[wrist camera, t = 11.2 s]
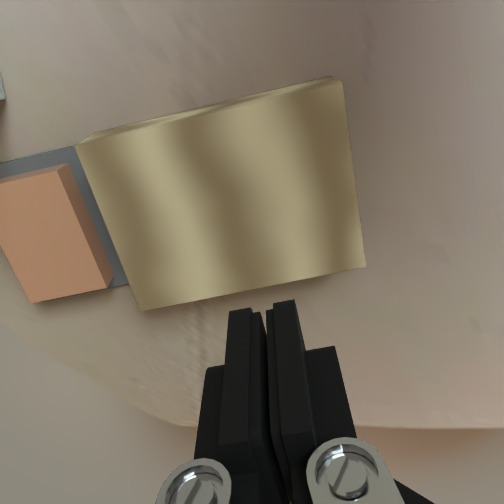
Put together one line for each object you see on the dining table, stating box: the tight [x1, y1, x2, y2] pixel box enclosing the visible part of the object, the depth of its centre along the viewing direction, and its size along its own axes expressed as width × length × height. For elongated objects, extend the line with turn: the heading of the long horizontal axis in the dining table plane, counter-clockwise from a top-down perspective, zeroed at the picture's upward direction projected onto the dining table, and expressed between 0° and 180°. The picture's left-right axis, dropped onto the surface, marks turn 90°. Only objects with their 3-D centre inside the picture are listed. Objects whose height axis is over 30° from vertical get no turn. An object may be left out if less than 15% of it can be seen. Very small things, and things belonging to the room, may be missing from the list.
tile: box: [0, 163, 114, 303], centre depth 32 cm, size 6×9×2 cm, turn 13°
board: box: [74, 76, 366, 311], centre depth 30 cm, size 16×12×4 cm
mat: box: [0, 146, 129, 302], centre depth 33 cm, size 9×11×1 cm
